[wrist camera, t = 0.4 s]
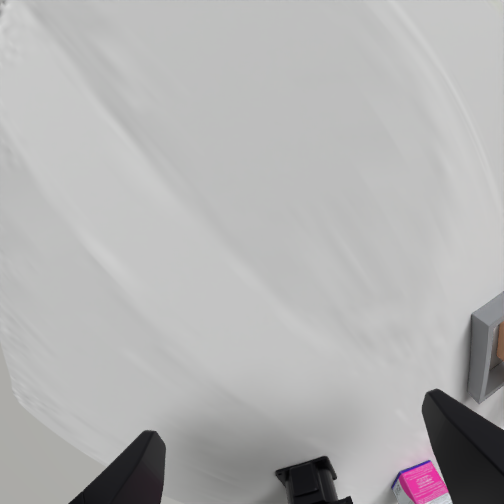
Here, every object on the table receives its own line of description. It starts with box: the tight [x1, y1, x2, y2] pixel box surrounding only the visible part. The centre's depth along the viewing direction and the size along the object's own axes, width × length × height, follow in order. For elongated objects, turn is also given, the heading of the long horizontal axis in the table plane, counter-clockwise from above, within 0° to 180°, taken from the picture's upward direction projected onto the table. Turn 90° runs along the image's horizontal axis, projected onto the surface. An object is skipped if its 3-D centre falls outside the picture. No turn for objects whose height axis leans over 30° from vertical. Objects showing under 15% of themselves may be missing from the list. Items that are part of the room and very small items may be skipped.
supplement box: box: [392, 460, 453, 504], centre depth 26 cm, size 6×6×12 cm
